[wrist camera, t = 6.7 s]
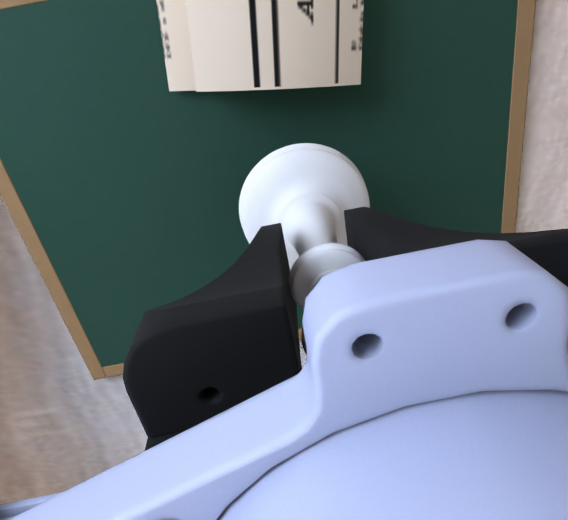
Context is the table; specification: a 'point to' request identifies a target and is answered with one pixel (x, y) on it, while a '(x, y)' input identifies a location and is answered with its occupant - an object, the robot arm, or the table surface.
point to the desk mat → (236, 145)
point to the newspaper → (261, 43)
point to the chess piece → (305, 210)
